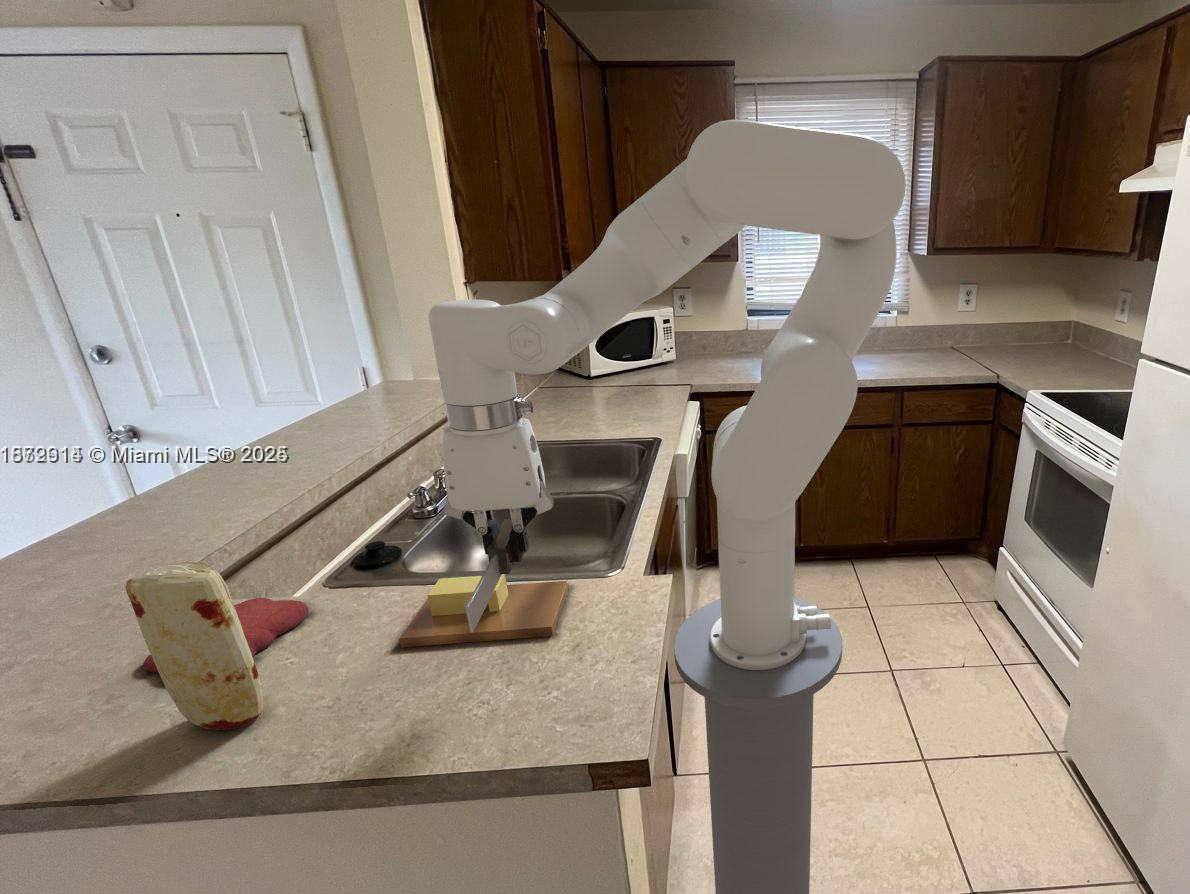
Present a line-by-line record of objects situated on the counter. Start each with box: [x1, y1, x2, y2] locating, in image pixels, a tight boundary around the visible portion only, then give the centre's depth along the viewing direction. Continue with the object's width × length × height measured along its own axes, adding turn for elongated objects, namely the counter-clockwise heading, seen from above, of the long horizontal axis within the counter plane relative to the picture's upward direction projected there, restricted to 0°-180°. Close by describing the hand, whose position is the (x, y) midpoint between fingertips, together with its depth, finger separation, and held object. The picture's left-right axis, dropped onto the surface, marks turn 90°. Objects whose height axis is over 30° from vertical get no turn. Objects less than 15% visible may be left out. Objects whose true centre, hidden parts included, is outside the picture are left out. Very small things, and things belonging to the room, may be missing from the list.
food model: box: [125, 561, 264, 731], centre depth 67 cm, size 10×7×20 cm
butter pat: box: [488, 574, 508, 612], centre depth 89 cm, size 1×4×4 cm, turn 7°
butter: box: [427, 575, 483, 616], centre depth 89 cm, size 7×4×4 cm, turn 97°
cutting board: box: [398, 580, 570, 648], centre depth 89 cm, size 20×12×2 cm, turn 97°
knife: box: [465, 518, 516, 632], centre depth 69 cm, size 19×2×3 cm, turn 8°
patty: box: [142, 597, 310, 674], centre depth 84 cm, size 18×14×2 cm
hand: (508, 556), depth 75 cm, fingers closed on knife, 2 cm apart
